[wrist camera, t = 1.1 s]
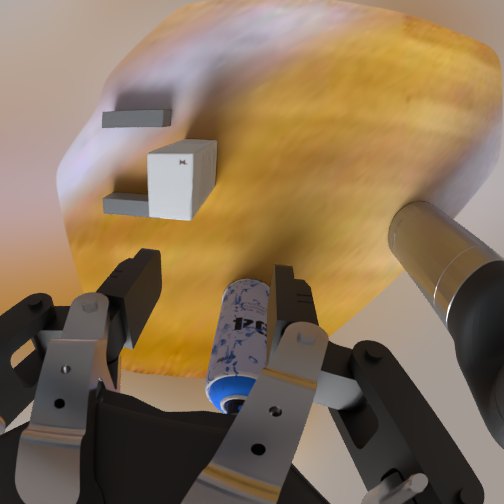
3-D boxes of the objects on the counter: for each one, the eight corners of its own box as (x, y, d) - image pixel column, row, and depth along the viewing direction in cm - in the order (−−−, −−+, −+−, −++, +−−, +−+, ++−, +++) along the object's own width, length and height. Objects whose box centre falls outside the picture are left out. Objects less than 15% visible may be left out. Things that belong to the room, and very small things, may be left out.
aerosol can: (284, 287, 42) (292, 406, 24) (265, 327, 45) (262, 442, 27) (230, 271, 41) (206, 387, 23) (216, 314, 45) (191, 427, 27)
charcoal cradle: (171, 110, 32) (163, 110, 29) (167, 210, 38) (159, 218, 35) (113, 111, 32) (102, 112, 29) (113, 206, 38) (103, 213, 35)
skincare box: (183, 138, 34) (146, 150, 23) (218, 139, 33) (195, 151, 23) (182, 186, 36) (147, 218, 25) (215, 188, 36) (193, 221, 25)
